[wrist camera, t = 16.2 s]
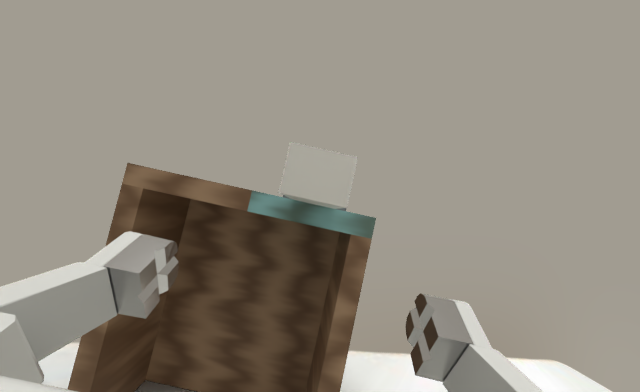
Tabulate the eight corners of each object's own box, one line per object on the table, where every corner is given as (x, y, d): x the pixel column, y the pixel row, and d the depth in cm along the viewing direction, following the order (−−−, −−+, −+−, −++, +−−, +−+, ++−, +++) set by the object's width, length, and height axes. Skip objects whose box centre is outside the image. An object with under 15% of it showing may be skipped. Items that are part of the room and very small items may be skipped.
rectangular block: (252, 186, 15) (276, 86, 16) (288, 200, 35) (298, 156, 36) (372, 213, 15) (393, 112, 16) (340, 211, 35) (350, 167, 36)
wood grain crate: (52, 446, 24) (127, 162, 25) (140, 367, 36) (187, 178, 37) (316, 503, 24) (375, 218, 25) (315, 405, 36) (356, 215, 37)
